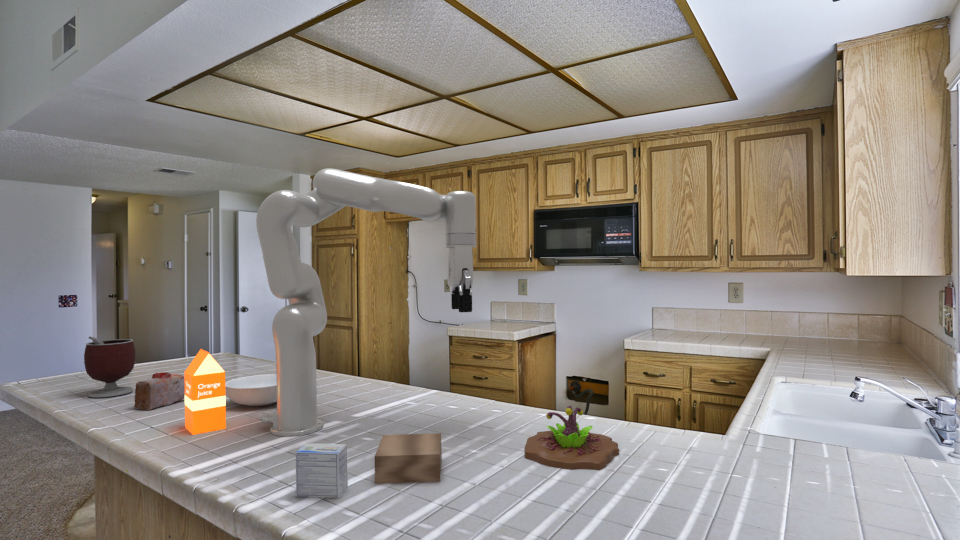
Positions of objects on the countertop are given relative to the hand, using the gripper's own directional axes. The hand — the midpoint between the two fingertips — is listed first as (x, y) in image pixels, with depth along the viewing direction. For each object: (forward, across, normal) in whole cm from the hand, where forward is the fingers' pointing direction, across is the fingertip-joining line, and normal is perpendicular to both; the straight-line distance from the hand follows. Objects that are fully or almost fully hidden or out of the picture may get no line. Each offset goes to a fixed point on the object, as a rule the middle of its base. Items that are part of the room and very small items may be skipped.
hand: (461, 310), depth 126 cm
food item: (+30, -48, -84) cm, 101 cm away
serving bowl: (+30, -42, -54) cm, 75 cm away
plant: (+30, +22, +19) cm, 42 cm away
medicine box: (+30, +30, -31) cm, 53 cm away
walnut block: (+30, +24, -15) cm, 41 cm away
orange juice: (+30, -19, -63) cm, 73 cm away
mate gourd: (+30, -69, -106) cm, 130 cm away
